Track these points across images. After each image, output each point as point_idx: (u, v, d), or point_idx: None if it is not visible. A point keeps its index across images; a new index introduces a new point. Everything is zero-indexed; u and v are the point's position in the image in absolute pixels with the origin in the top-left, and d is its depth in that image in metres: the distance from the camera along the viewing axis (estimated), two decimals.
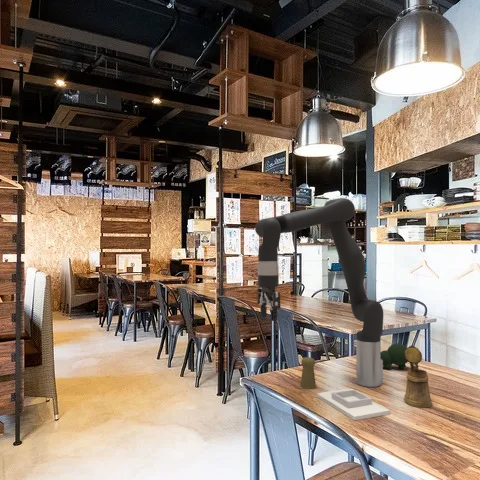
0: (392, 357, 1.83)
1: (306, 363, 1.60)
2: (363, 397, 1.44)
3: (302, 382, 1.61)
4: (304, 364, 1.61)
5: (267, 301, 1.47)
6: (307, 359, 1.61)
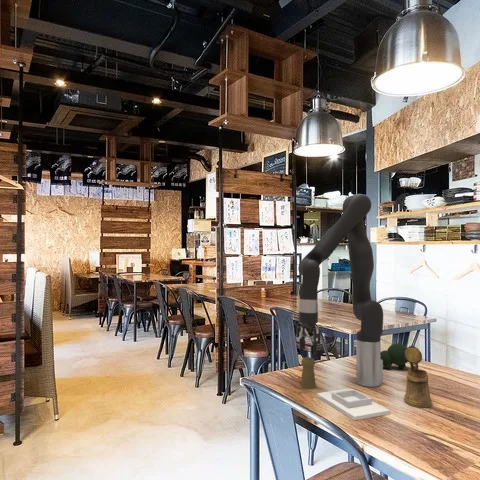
0: (392, 356, 1.83)
1: (306, 363, 1.60)
2: (363, 397, 1.44)
3: (302, 382, 1.61)
4: (304, 364, 1.61)
5: (307, 336, 1.59)
6: (307, 359, 1.61)
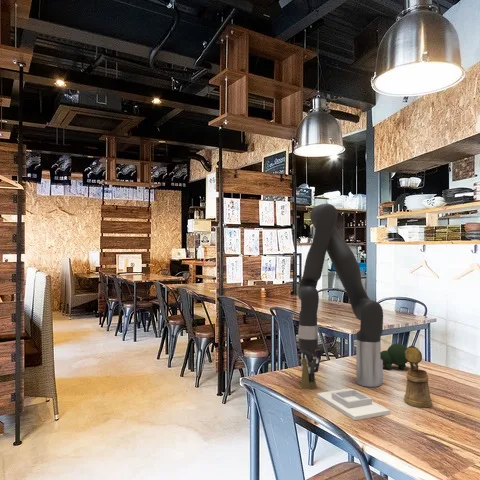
0: (392, 357, 1.83)
1: (306, 363, 1.60)
2: (363, 397, 1.44)
3: (302, 382, 1.61)
4: (304, 364, 1.61)
5: None
6: None
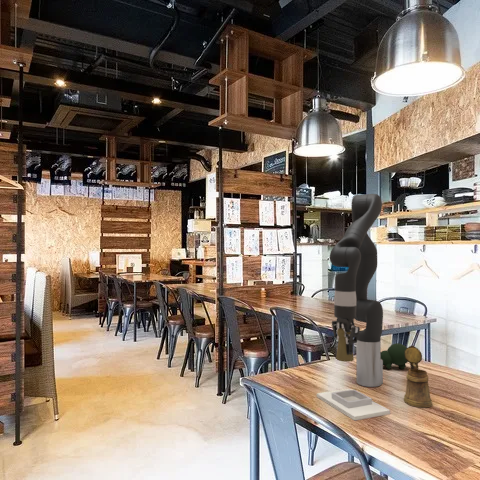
0: (392, 357, 1.83)
1: (343, 333, 1.44)
2: (363, 397, 1.44)
3: (338, 354, 1.45)
4: (341, 334, 1.44)
5: None
6: None
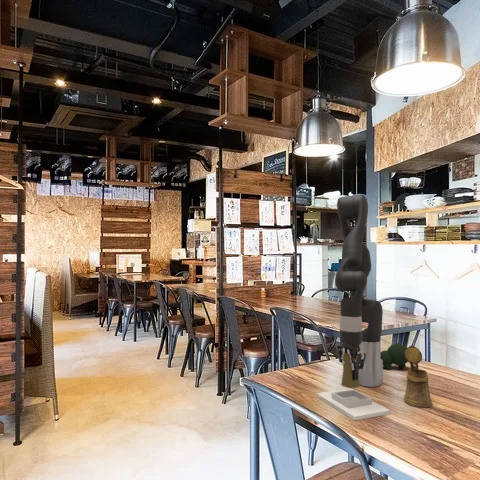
0: (392, 357, 1.83)
1: (349, 359, 1.41)
2: (363, 397, 1.44)
3: (344, 380, 1.42)
4: (346, 360, 1.42)
5: None
6: None
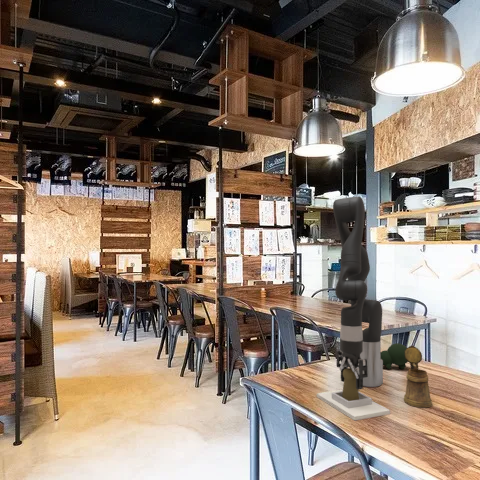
0: (392, 357, 1.83)
1: (349, 375, 1.42)
2: (363, 397, 1.44)
3: (344, 396, 1.43)
4: (347, 376, 1.42)
5: (352, 368, 1.40)
6: (350, 371, 1.42)
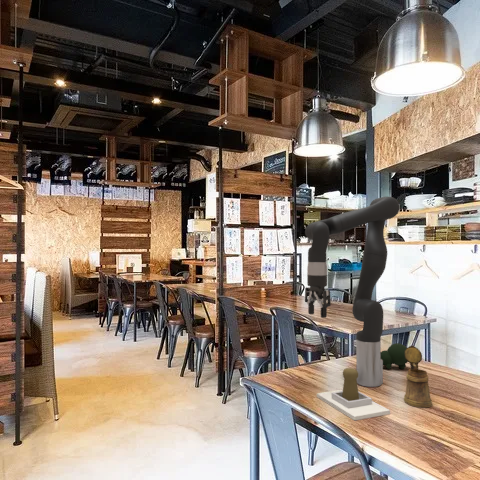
0: (392, 356, 1.83)
1: (349, 375, 1.42)
2: (363, 397, 1.44)
3: (344, 396, 1.43)
4: (347, 376, 1.42)
5: (317, 299, 1.58)
6: (350, 371, 1.42)
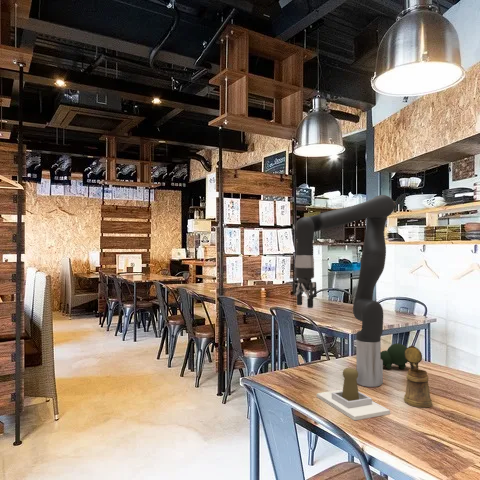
0: (392, 357, 1.83)
1: (349, 375, 1.42)
2: (363, 397, 1.44)
3: (344, 396, 1.43)
4: (347, 376, 1.42)
5: (304, 290, 1.66)
6: (350, 371, 1.42)
